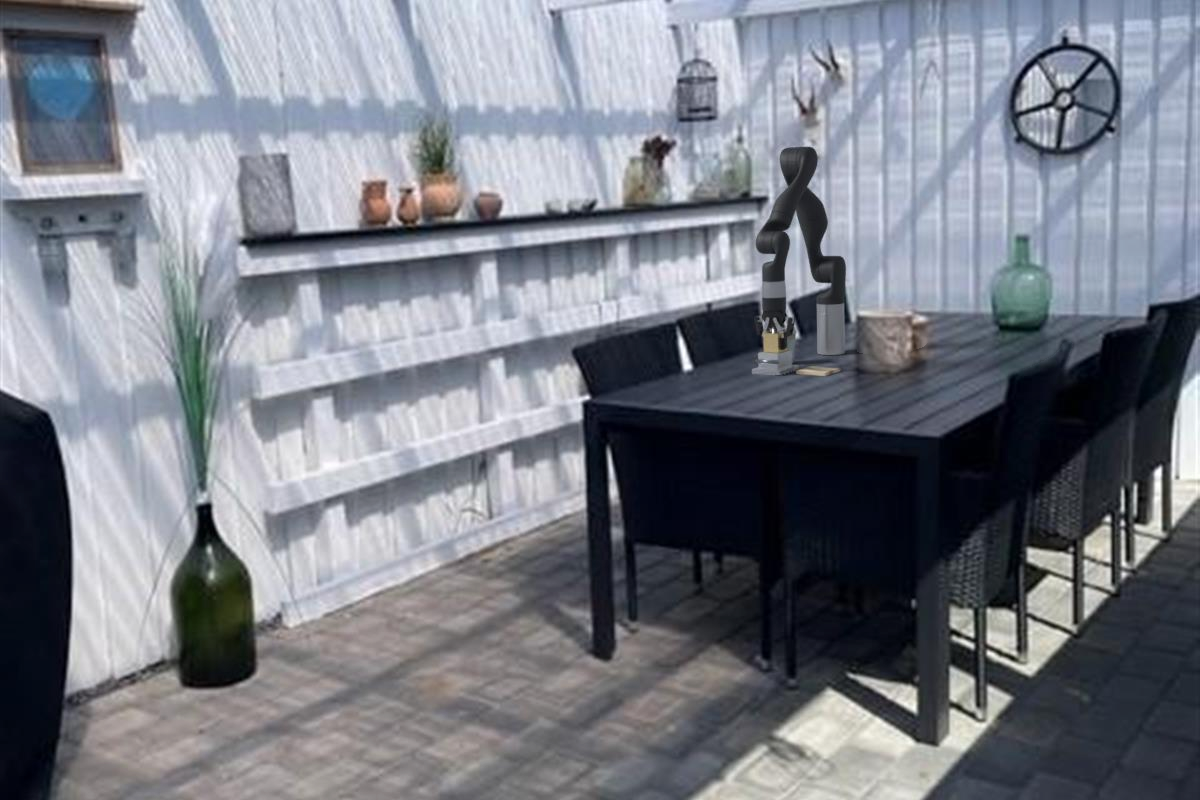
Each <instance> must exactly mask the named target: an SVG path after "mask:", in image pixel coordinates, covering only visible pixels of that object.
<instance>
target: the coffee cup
mask: <svg viewBox="0 0 1200 800" xmlns="http://www.w3.org/2000/svg"><path fill="white" fill-rule="evenodd" d="M785 326H786V329H787V325H785ZM797 334H798V333H797V329H796V326H794V330H793V335H791V336H788V337H787V350H792V363H793V364H794V358H795V357H794V356H795V349H796V347H795V345H796V338H797V337H796V336H797Z"/></svg>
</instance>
